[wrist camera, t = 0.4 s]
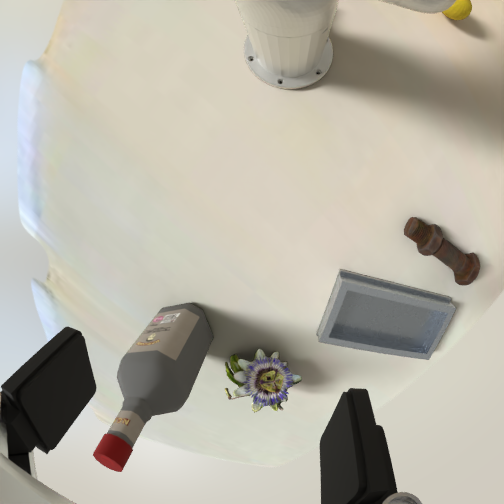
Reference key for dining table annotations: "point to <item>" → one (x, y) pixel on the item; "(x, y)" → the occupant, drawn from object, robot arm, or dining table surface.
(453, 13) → the lemon
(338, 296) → the tray
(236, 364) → the passion flower
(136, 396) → the liquor
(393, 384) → the dining table surface
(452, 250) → the bolt
